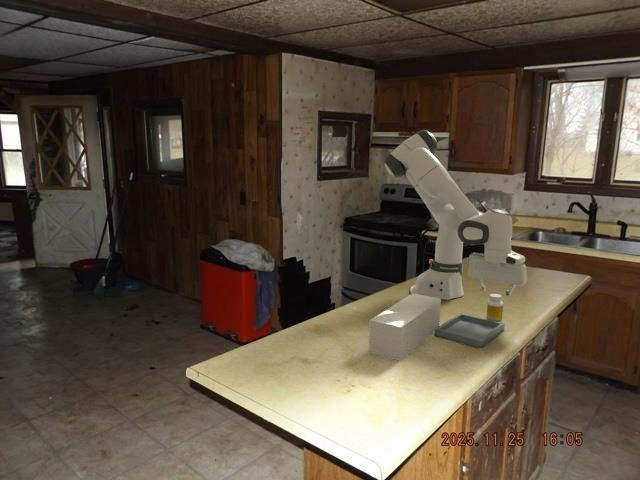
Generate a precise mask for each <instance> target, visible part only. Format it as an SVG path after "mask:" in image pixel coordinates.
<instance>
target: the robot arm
mask: <svg viewBox="0 0 640 480" xmlns="http://www.w3.org/2000/svg"><path fill="white" fill-rule="evenodd" d="M438 145H439V144H438V142H437V138H436V137H435V135H434V133H433V134H432V133H431V132H430V131H428V130H427V129H422V130H420V131H417V132H415V134H413V135H412V136H409V137H408V138H406V139H405V140H404V141H402V143H400V144H399V145H398V146H397V147H396V148H394V149H393V150H392V151H391V152H389V153H388V154H387V155H386V156H385V157H384V160H383V162H384V167H385V170H386V172H387V173H389V175H391V176H393V177H394V178H397V179H399V178H403V177H407V179H408V181H409V182H410V184H411V186H412V188H414V190H415V191H416V193H417V194H418V195H419V197H420V198H421V200H422V201H423V203H424V204H425V206H426V208H427V209H428V210H429V212H430V214H431V215H432V216H433V218H434V219H435V221H436V223H437V224H438V231H437V232H438V233H437V236H436V241H435V253H434V259H433V258H432V259H429V261H428V263H429V269H427V270H425V271H424V272H422V273H420V274H419V275H418V276H417V279H416V281H415V284H414V285H411V287H410V291H409V292H410V295H411V294H412V293H413V294H418V295H423V296H429V297H434V298H440V299H441V300H445V301H446V300H447V301H448V300H453V299H455V298H456V299H457V298H461V297H463V296H464V294H465V293H464V289H463V283H462V281H463V280H462V276H463V272H464V271H463V268H464V264H463V261H462V260H463V250H464V249H463V248H464V245H463V244H465V245H470V246H476V245H484V253H480V252H471V253H470V254H469V257H468V262H469V265H468V269H467V275H468V277H469V278H473V279H477V281H476V282H477V283H478V286H479V291H480V292H485V291H486V290H487V285H484V283H483V282H484V281H491V282H496V283H502V284H508V285H509V289H507V290H505V296H508V297H512V295H513V291H514V289H515V288H516V286H517V287H518V286H519V287H523V286H524V285H525V284H526V283H527V282H528V270H527V266H526V264H525V262H526V257H525V256H524V255H522V254H520V253H518V252H515V251H513V250H512V245H511V244H512V243H511V240H512V237H513V218H512V216H511V214H510V213H509V212H508V211H506V210H502V209H499V208H497V209H496V208H490V209H488V210H487V211H486V212H482V211H480V209H478V207H476V206H475V204H473V202H472V201H471V200H470V199H469V198H468V197H467V195H466V194H465V193H464V192H463V191H462V189H461V188H460V187H459V186H458V184H457V183H456V182H455V180H454V179H453V178H452V177H451V174H450V173H449V172H448V171H447V170H446V168H445V167H444V165H443V164H442V163H441V162H440V159H438V158H437V157H436V156H435V155H434V154H435V153H436V152H437V150H438V148H439V147H438Z"/></svg>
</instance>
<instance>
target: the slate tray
mask: <svg viewBox="0 0 640 480" xmlns="http://www.w3.org/2000/svg"><path fill="white" fill-rule="evenodd" d="M504 331H505V323H504V322H501V323H500V322H496V321H492V320H488V319H486V318H484V317H483V318H482V317H478V316H475V315H470V314H467V313H462V312H461V313H458V314H457V315H455V316H453V317H452V318H450V319H448V320H447V321H446V322H444V323H442V324H440V325H439V327H437V328H436V329H435V332H434V337H436V338H440V339H445V340H446V341H447V340H449V341H451V342H455V343H459V344H462V345H467V346H470V347H473V348H476V349H480V350H481V349H483V348H484V347H486V346H487V345H488V344H490V342H492V341H493V340H494V339H495V338H497V336H499V335H500V334H501V333H503V332H504Z"/></svg>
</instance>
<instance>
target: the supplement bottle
mask: <svg viewBox="0 0 640 480" xmlns="http://www.w3.org/2000/svg"><path fill="white" fill-rule="evenodd" d="M502 298H503V297H502V295H501V294H499V293H490V294H489V299H488V300H487V303H486V306H487V307H486V316H485V319H488V320H492V321H496V322H500V323H503V313H504V311H503V309H504V302H503V301H502Z"/></svg>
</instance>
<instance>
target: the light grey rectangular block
mask: <svg viewBox="0 0 640 480" xmlns="http://www.w3.org/2000/svg"><path fill="white" fill-rule="evenodd" d="M441 301H442V299H440V298H434V297H429V296H423V295H418V294H413V293H412V294H411V293H410V294H409V295H407V296H406V297H404V298H402V299H401V300H399V301H398V302H397V303H395V304H393V305H391V306H390V307H388V308H386V309H385V310H384V311H382V312H381V313H379V314H377V315H376V316H374V317H372V318H371V319H369V325H368V327H369V330H368V332H369V333H368V335H369V336H368V337H369V339H368V343H369V344H368V353H371V354H374V355H378V356H381V357H385V358H389V359H393V360H397V361H399V362H401V361H402V360H403V359H405V358H406V357H407V356H408V355H409V354H410V353H412V352H413V351H414V350H415V349H416V348H417V347H418V346H420V345H421V344H422V343H423V342H425V340H426V339H428V338H429V337H430V336H431V335H432V334H433V333H434V334H435V329H436V328H437V327H439V326H440V325H441V324H440V322H441V309H442V308H441V303H442V302H441Z"/></svg>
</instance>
